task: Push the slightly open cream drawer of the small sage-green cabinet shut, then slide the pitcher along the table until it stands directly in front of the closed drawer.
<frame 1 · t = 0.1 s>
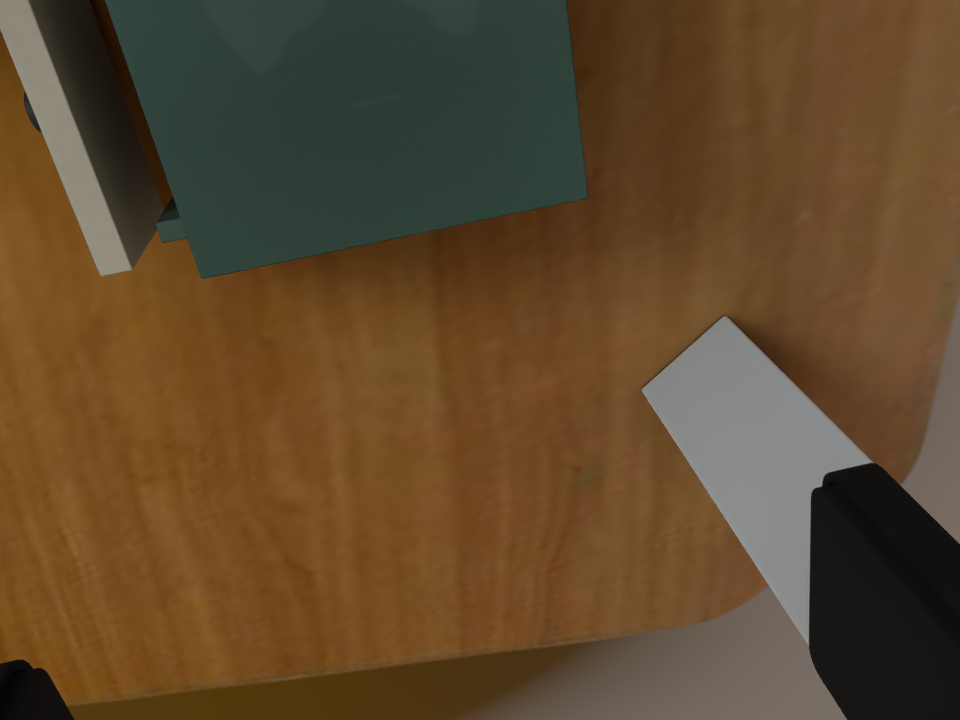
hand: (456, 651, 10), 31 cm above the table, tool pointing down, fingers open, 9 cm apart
drawer: (229, 72, 32), point 4 cm above the table, slide at 2.5 cm
cabinet: (354, 35, 36), on the table
milk: (712, 382, 47), on the table
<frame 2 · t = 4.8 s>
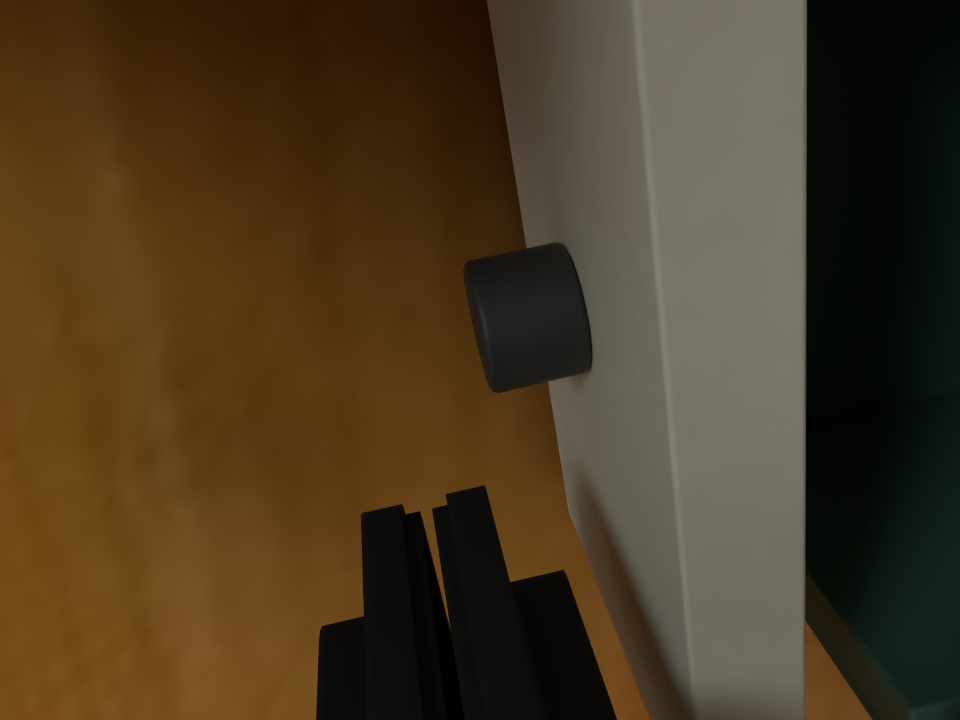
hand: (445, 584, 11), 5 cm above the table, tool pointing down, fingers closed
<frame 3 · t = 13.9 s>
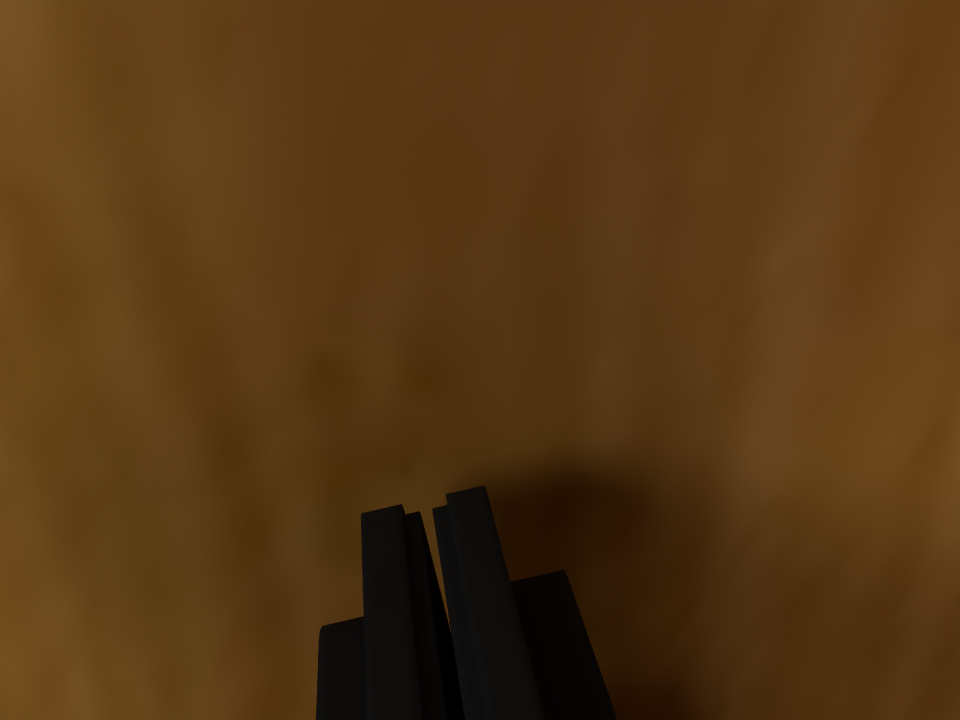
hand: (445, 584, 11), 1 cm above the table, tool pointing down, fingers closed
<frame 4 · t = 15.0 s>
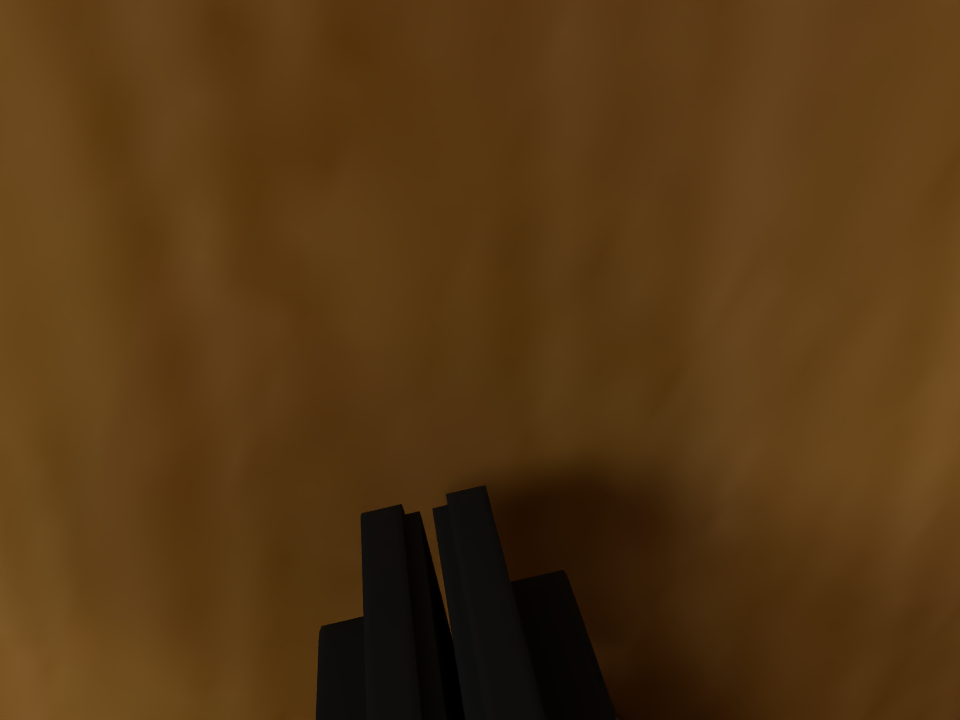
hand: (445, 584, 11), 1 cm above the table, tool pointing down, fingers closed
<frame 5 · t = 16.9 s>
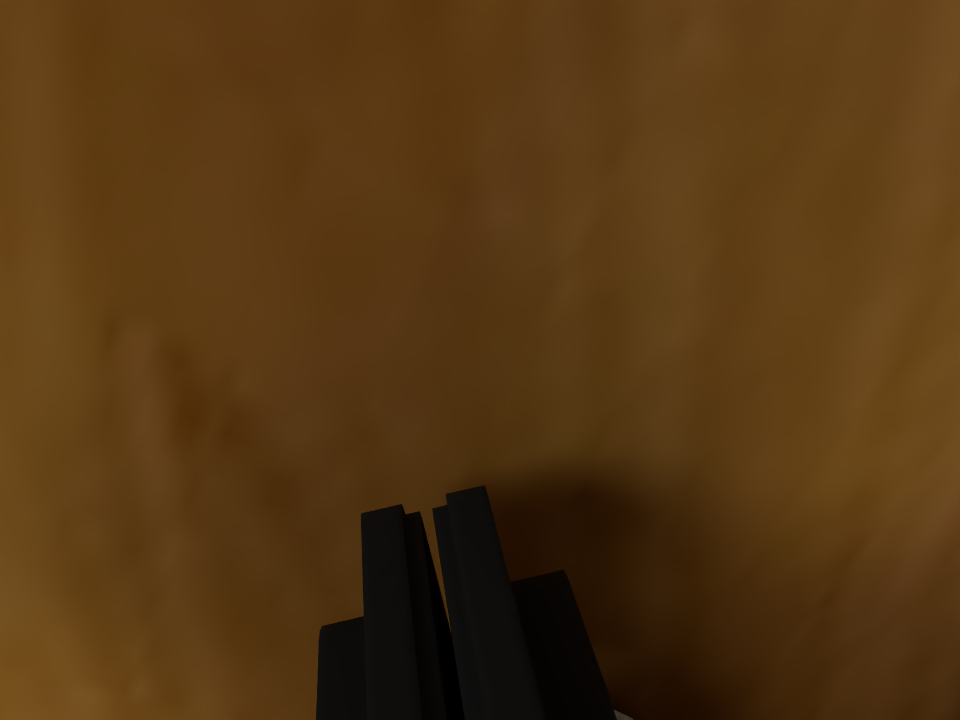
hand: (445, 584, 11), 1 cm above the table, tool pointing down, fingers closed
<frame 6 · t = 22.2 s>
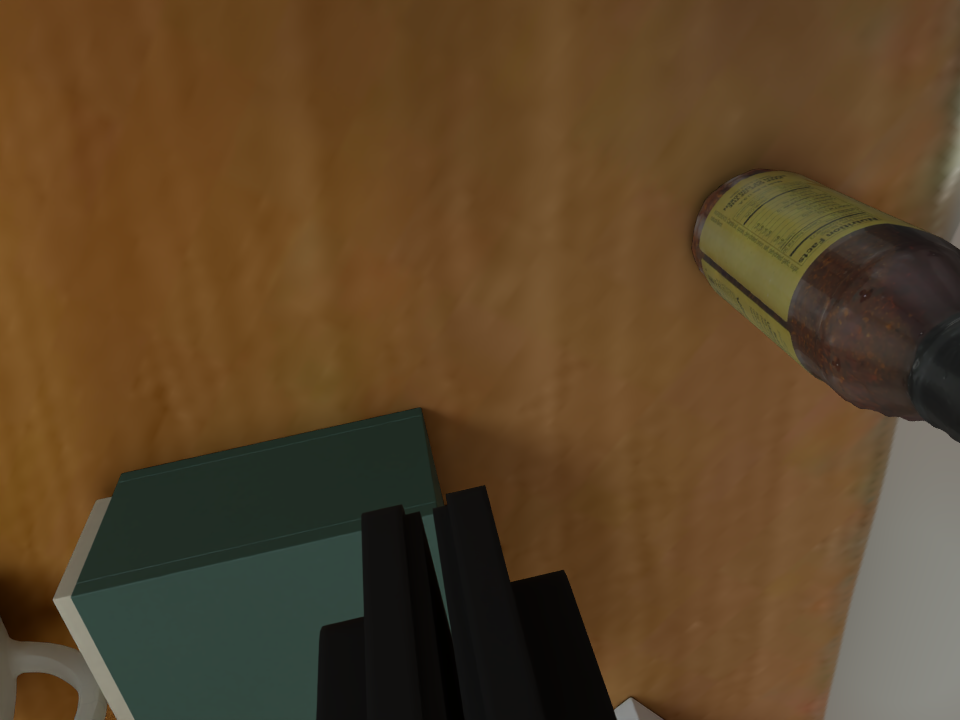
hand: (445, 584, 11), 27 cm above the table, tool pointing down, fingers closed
drawer: (253, 610, 40), point 4 cm above the table, slide at 0.0 cm, touching cabinet
cabinet: (306, 540, 44), on the table
sauce bottle: (747, 223, 40), on the table
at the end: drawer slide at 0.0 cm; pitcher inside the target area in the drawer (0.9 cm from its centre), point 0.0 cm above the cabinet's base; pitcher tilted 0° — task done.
